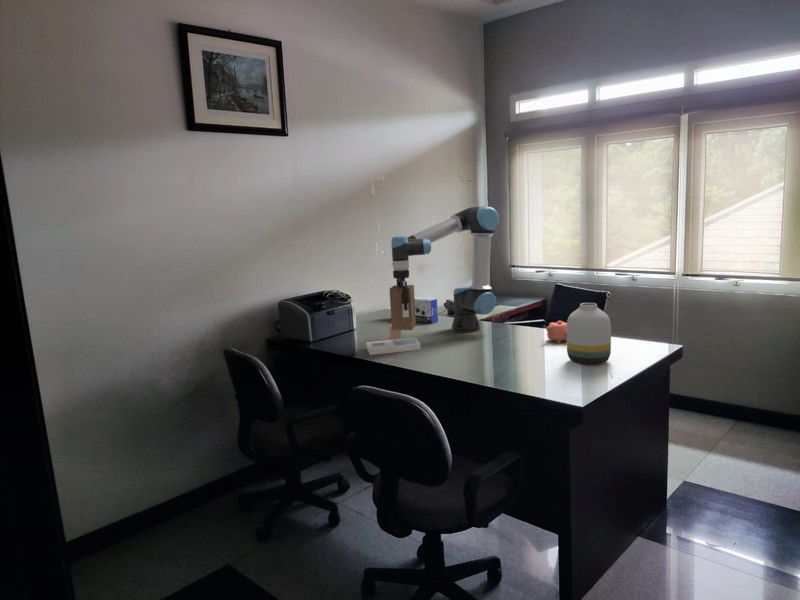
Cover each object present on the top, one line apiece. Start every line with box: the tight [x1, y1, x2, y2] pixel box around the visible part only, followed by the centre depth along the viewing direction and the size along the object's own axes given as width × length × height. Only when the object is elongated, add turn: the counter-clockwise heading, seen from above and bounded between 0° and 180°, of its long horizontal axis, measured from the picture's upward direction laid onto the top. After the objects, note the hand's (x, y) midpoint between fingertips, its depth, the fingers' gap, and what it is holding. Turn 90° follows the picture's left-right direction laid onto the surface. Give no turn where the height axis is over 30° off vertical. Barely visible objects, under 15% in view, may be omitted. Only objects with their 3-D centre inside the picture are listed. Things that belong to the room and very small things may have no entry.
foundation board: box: [365, 337, 421, 356], centre depth 266 cm, size 24×13×3 cm, turn 100°
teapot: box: [545, 320, 567, 344], centre depth 262 cm, size 12×12×10 cm
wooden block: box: [389, 284, 417, 331], centre depth 264 cm, size 10×10×20 cm
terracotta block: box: [388, 323, 402, 340], centre depth 283 cm, size 5×5×8 cm
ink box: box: [414, 296, 439, 325], centre depth 329 cm, size 30×7×14 cm, turn 50°
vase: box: [566, 302, 612, 366], centre depth 225 cm, size 17×17×24 cm
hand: (403, 314), depth 265 cm, fingers closed on wooden block, 12 cm apart
